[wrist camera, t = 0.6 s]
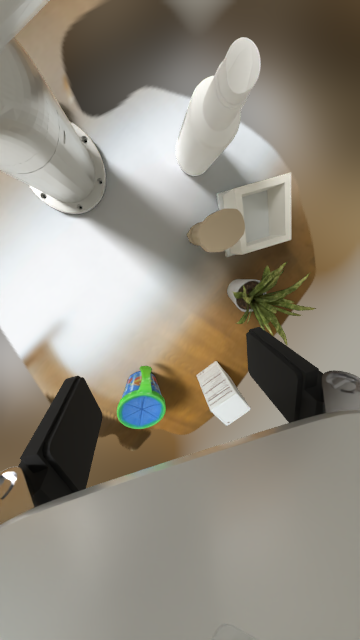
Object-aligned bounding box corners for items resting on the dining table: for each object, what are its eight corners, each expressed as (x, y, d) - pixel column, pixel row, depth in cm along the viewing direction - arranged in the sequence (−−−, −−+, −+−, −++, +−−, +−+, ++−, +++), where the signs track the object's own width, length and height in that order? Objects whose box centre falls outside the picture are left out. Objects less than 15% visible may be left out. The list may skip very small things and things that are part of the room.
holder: (216, 194, 36) (229, 185, 31) (272, 178, 37) (295, 167, 31) (225, 256, 41) (238, 258, 36) (275, 241, 42) (295, 241, 36)
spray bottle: (218, 142, 33) (291, 44, 17) (202, 184, 35) (254, 132, 19) (184, 118, 31) (229, -21, 15) (169, 164, 33) (194, 86, 17)
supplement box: (229, 374, 54) (252, 410, 43) (208, 389, 55) (226, 427, 44) (216, 359, 51) (237, 392, 40) (195, 374, 52) (210, 412, 41)
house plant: (275, 299, 48) (335, 325, 33) (229, 329, 48) (267, 367, 34) (255, 249, 42) (317, 253, 27) (203, 284, 43) (235, 306, 28)
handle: (175, 230, 37) (193, 223, 24) (203, 216, 37) (238, 200, 24) (184, 253, 39) (207, 259, 26) (211, 239, 39) (248, 238, 26)
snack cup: (153, 404, 54) (156, 438, 44) (116, 401, 51) (110, 436, 41) (169, 359, 49) (175, 387, 39) (128, 353, 46) (124, 381, 36)
